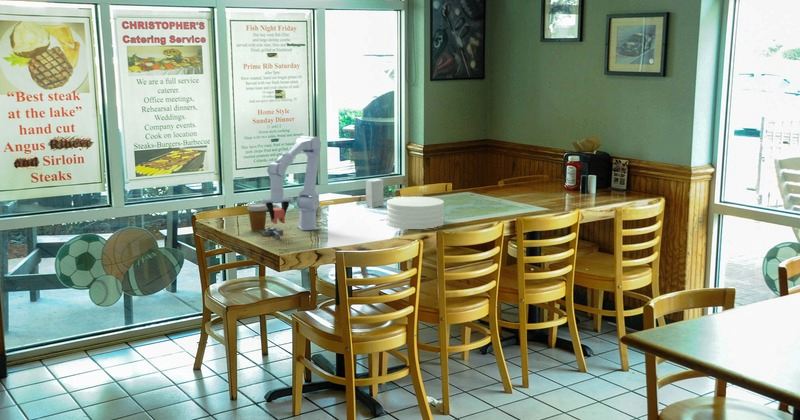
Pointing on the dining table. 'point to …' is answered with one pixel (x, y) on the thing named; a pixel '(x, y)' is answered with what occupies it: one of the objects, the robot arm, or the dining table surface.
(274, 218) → the block
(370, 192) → the skincare box
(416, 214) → the plate stack
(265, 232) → the lip
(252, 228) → the disposable coffee cup
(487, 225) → the dining table surface
